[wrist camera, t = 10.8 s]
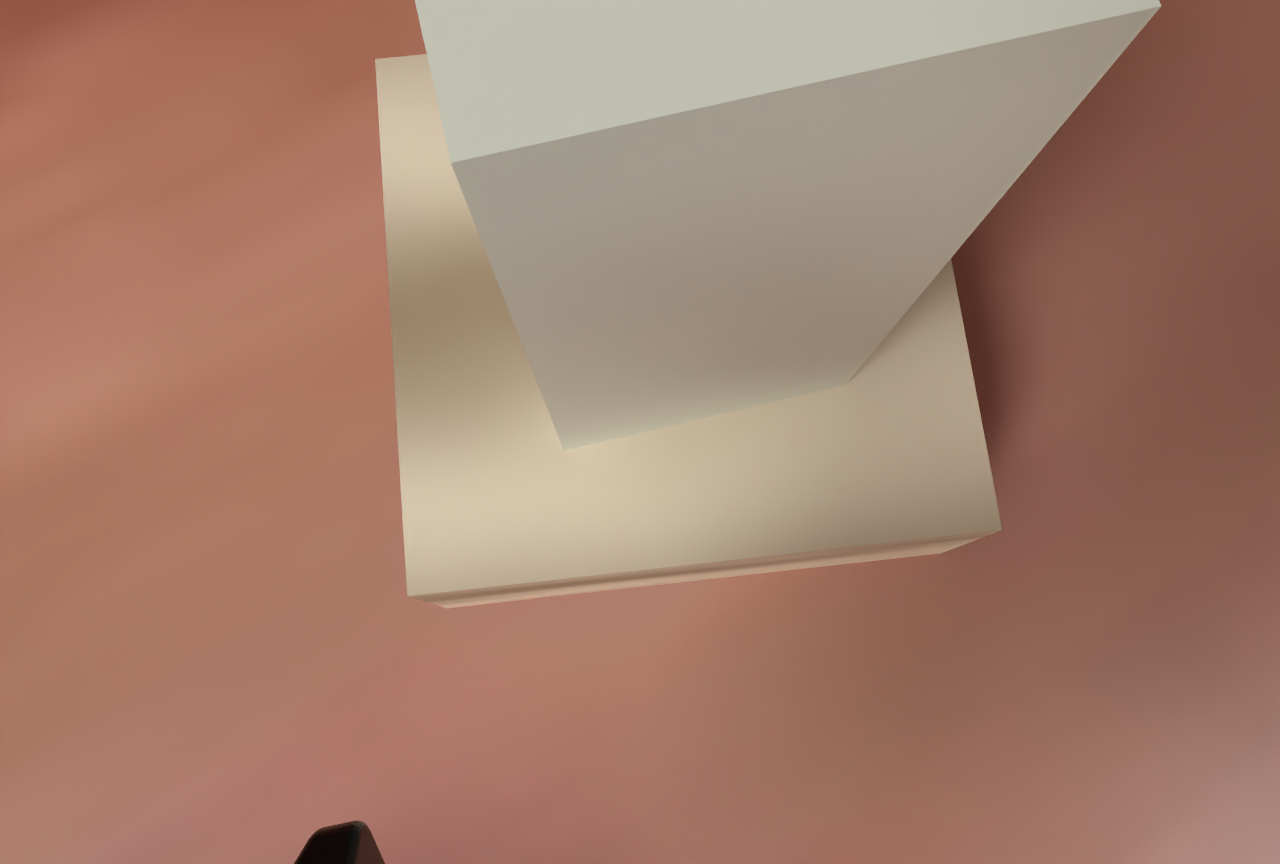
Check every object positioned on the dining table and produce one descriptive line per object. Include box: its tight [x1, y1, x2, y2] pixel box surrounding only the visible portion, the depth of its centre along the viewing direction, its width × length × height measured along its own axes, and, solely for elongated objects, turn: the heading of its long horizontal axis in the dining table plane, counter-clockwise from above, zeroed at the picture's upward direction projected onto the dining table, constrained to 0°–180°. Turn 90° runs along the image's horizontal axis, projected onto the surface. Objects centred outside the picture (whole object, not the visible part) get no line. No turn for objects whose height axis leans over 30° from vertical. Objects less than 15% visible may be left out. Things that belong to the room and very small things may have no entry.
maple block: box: [375, 54, 1002, 608], centre depth 20 cm, size 10×10×4 cm
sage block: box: [415, 0, 1161, 451], centre depth 13 cm, size 5×5×11 cm
